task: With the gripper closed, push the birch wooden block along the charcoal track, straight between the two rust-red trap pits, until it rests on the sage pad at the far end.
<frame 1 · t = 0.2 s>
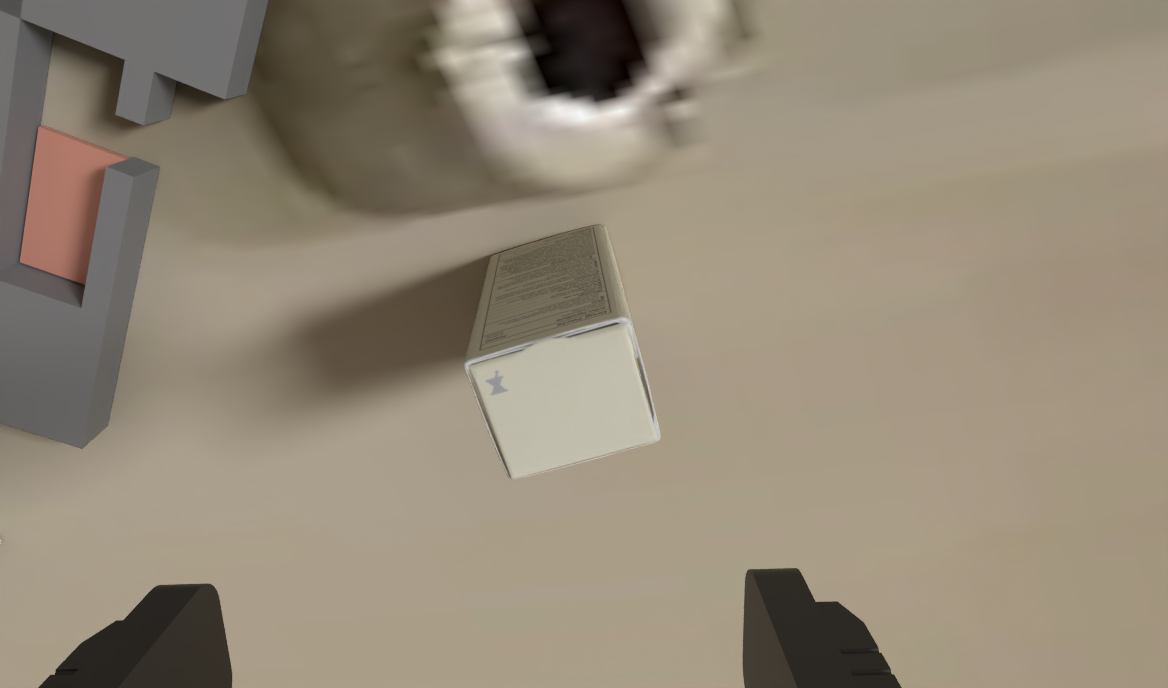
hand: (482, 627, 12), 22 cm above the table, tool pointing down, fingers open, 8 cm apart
box: (563, 281, 33), on the table
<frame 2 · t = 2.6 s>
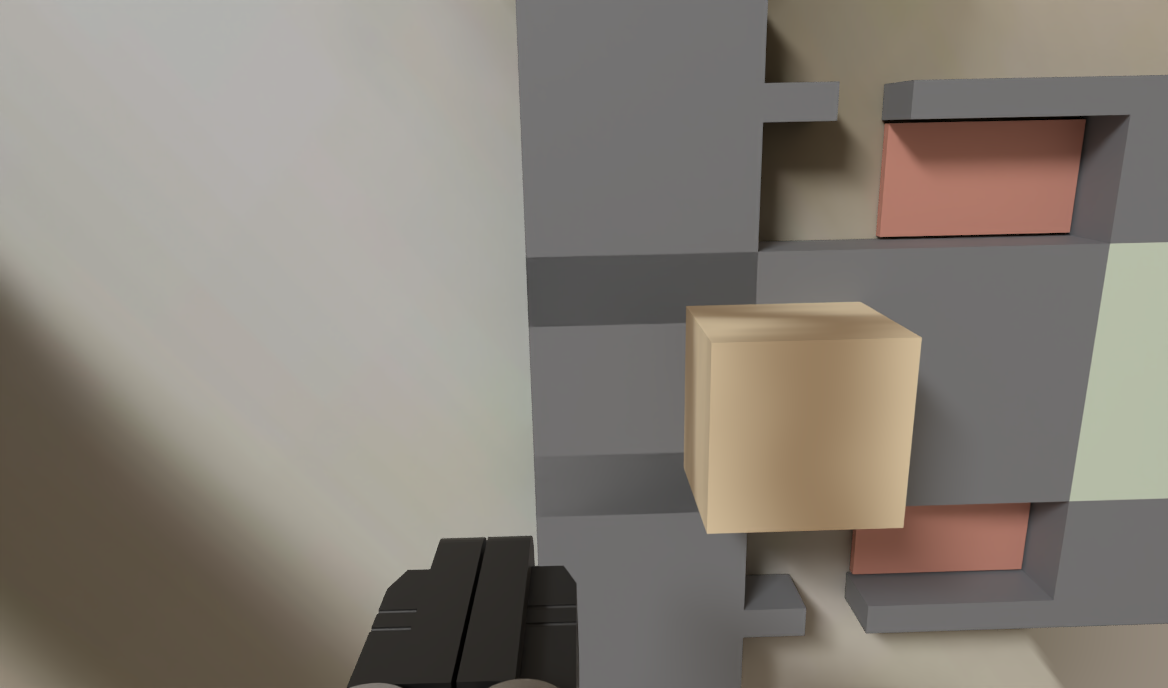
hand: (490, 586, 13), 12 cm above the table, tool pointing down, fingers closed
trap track: (893, 363, 25), on the table
block: (769, 386, 23), point 2 cm above the table, touching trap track
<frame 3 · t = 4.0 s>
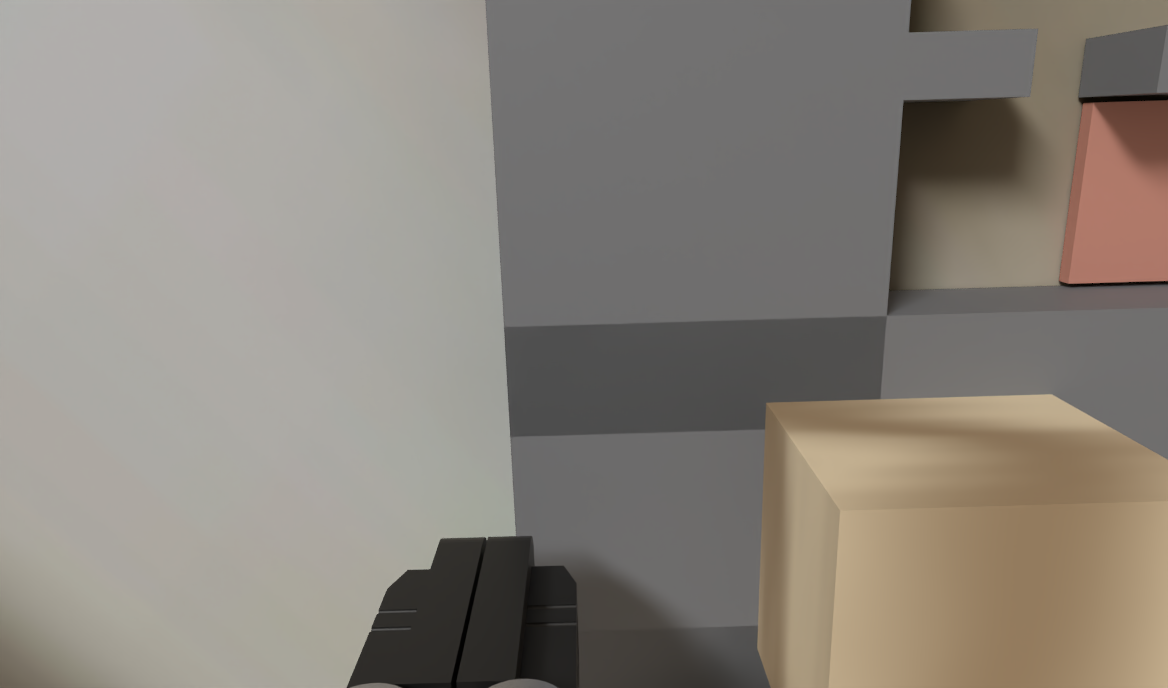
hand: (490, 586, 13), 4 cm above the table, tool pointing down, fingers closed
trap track: (1075, 473, 16), on the table
block: (897, 527, 14), point 2 cm above the table, touching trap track
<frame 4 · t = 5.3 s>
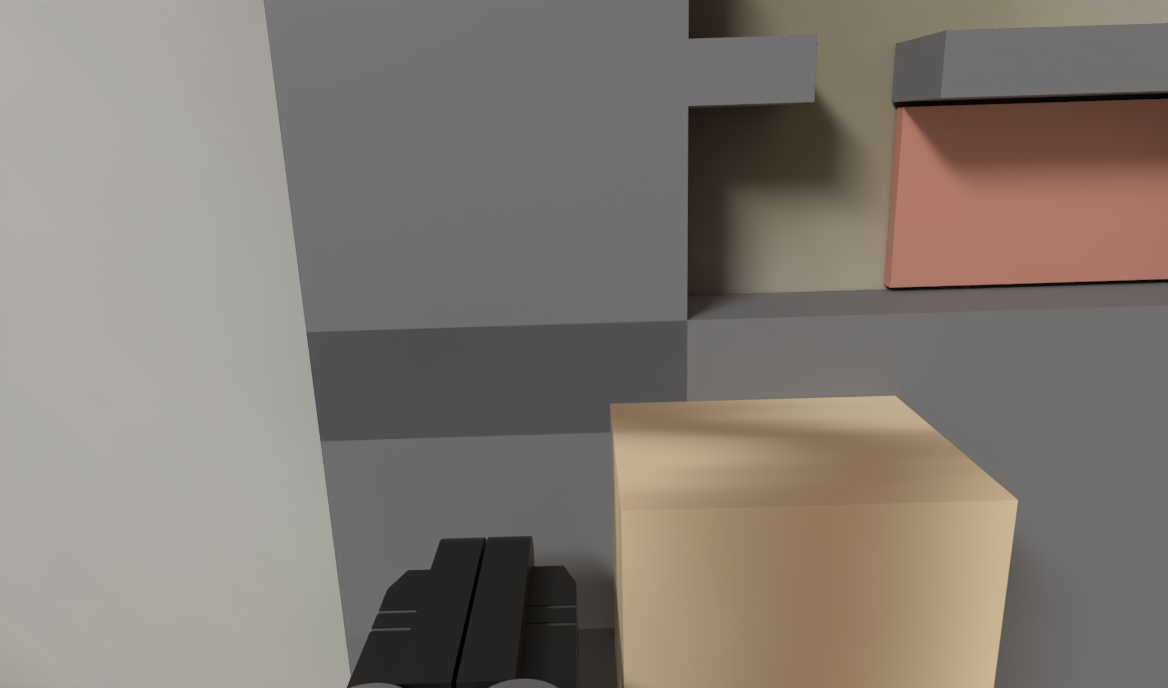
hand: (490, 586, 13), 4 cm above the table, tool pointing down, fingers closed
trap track: (913, 476, 16), on the table
block: (748, 528, 14), point 2 cm above the table, touching gripper
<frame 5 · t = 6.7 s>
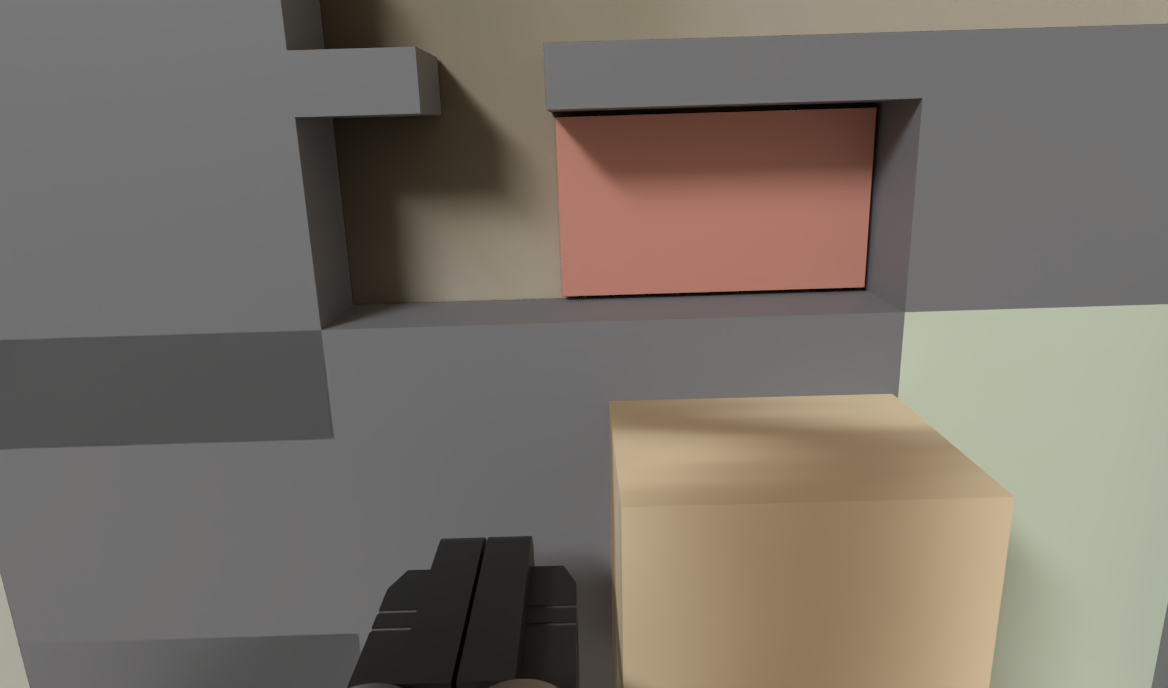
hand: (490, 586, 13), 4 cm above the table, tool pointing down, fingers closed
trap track: (612, 483, 16), on the table
block: (746, 525, 14), point 2 cm above the table, touching gripper, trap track
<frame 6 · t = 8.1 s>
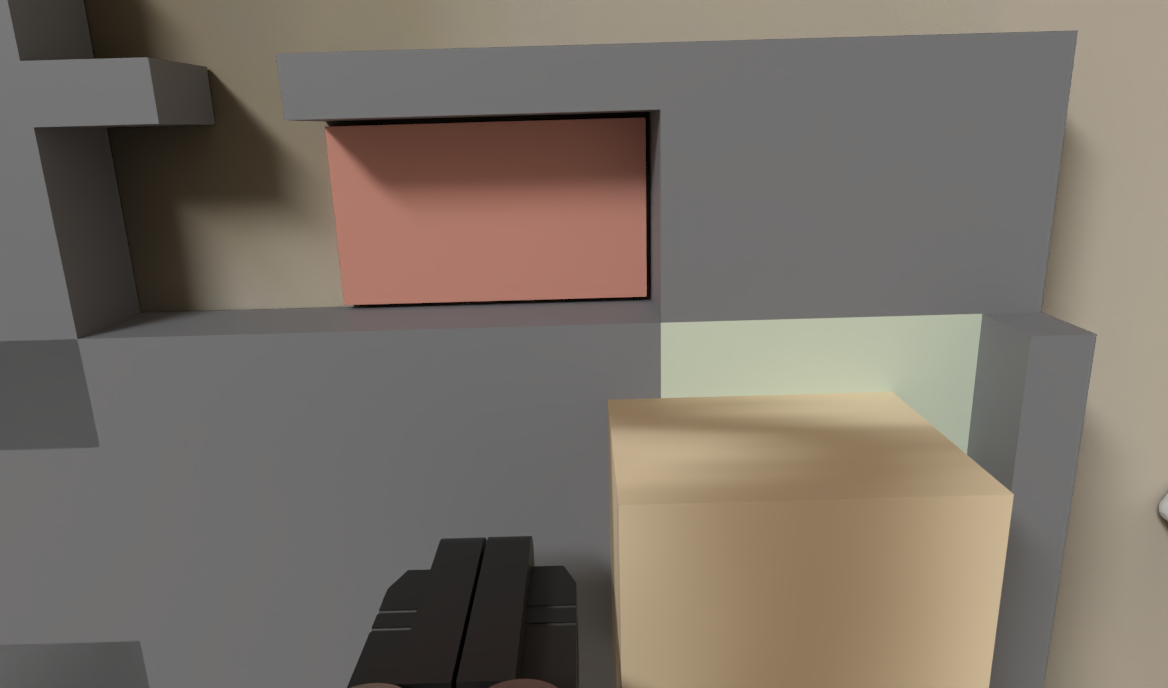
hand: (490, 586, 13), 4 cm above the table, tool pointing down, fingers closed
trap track: (412, 491, 16), on the table
block: (746, 524, 14), point 2 cm above the table, touching gripper, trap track
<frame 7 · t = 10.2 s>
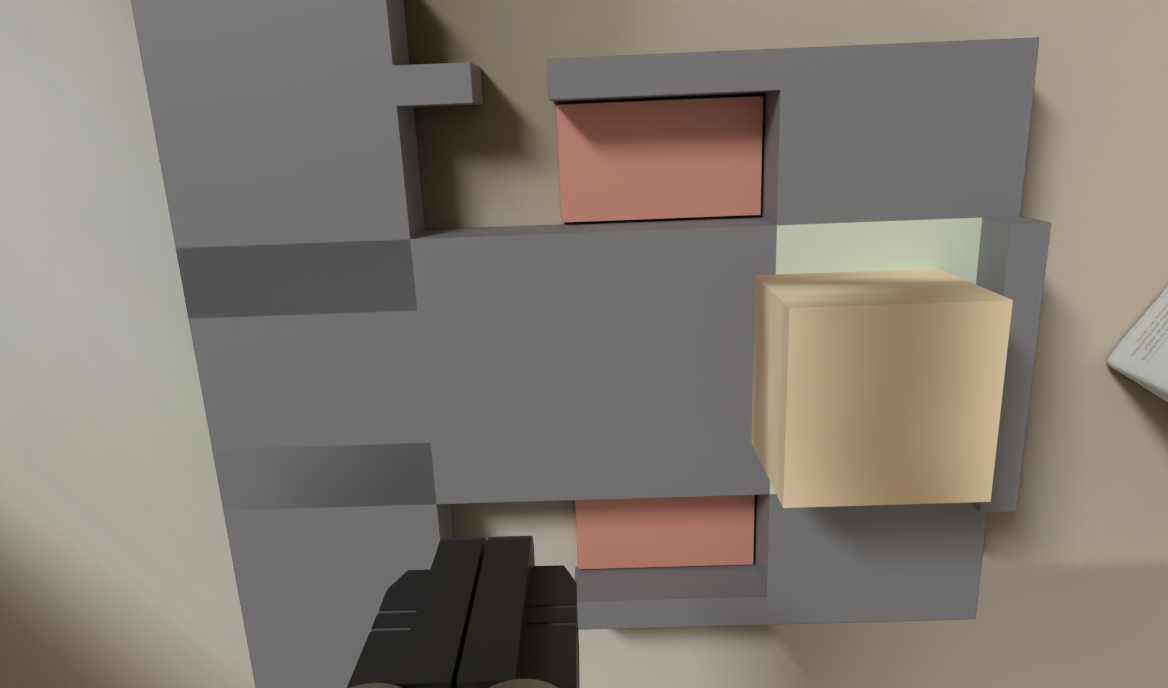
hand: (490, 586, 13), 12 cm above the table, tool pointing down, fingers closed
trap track: (597, 352, 24), on the table
block: (841, 358, 22), point 2 cm above the table, touching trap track
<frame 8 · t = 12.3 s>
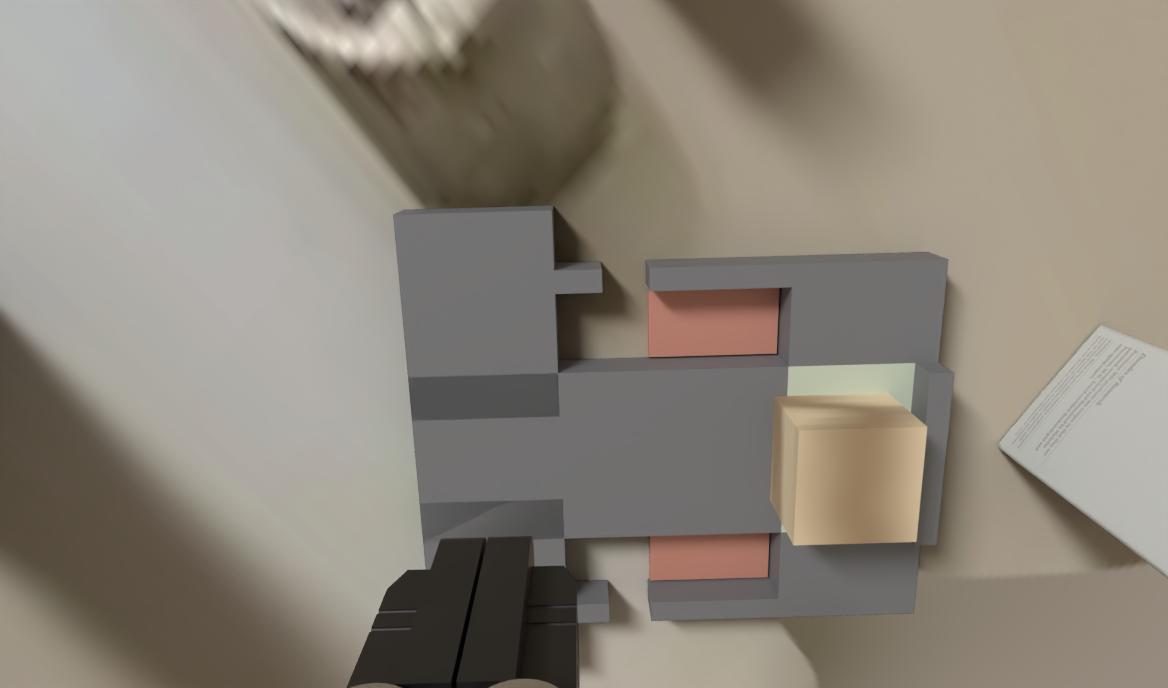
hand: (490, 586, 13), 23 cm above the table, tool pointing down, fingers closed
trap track: (668, 438, 37), on the table
block: (827, 447, 35), point 2 cm above the table, touching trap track
supplement box: (1098, 423, 37), on the table
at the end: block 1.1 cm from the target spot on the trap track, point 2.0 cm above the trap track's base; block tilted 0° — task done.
